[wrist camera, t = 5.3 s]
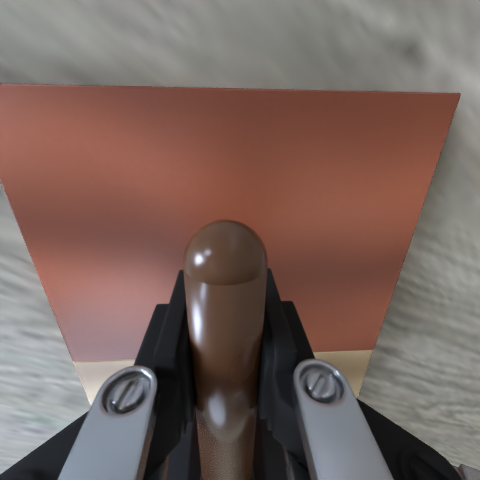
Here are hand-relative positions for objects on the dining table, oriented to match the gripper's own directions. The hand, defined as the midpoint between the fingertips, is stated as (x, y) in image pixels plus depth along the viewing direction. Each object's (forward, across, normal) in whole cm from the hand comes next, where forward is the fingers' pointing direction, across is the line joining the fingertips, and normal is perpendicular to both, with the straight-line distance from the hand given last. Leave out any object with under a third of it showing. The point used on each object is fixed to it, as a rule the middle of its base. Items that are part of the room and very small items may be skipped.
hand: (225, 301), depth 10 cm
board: (+4, 0, +7) cm, 8 cm away
